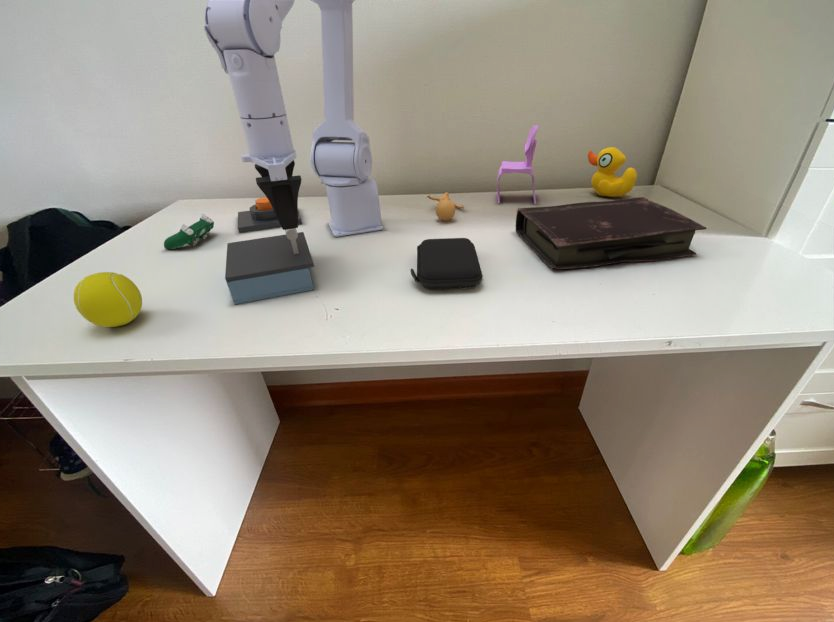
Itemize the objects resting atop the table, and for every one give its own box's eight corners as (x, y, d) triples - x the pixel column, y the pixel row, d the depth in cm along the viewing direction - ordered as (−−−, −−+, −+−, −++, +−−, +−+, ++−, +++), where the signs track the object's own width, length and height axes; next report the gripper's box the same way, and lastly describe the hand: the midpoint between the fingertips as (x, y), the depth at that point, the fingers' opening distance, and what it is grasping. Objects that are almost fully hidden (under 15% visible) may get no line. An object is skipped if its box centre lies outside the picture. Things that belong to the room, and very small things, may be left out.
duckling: (576, 194, 97) (584, 147, 91) (585, 188, 100) (594, 142, 94) (626, 203, 91) (638, 153, 85) (634, 196, 94) (647, 148, 88)
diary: (513, 231, 79) (516, 205, 76) (634, 219, 83) (641, 193, 80) (554, 275, 65) (559, 244, 62) (699, 258, 68) (710, 228, 65)
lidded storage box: (303, 256, 73) (299, 236, 71) (313, 290, 63) (308, 268, 61) (235, 267, 70) (228, 246, 68) (234, 304, 60) (226, 282, 58)
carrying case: (411, 253, 73) (410, 295, 61) (410, 236, 71) (409, 276, 59) (473, 250, 73) (483, 292, 61) (473, 233, 71) (484, 273, 59)
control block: (296, 209, 93) (293, 196, 91) (301, 224, 85) (298, 209, 83) (239, 217, 89) (235, 203, 88) (239, 233, 82) (234, 218, 80)
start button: (275, 204, 87) (273, 196, 86) (276, 209, 85) (274, 201, 84) (257, 207, 86) (254, 198, 85) (257, 212, 84) (255, 203, 83)
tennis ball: (86, 342, 53) (54, 293, 49) (97, 315, 58) (69, 269, 54) (148, 328, 55) (123, 281, 51) (153, 304, 60) (131, 259, 56)
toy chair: (496, 193, 98) (501, 122, 89) (534, 194, 97) (543, 122, 88) (495, 205, 92) (500, 129, 83) (536, 206, 91) (545, 129, 82)
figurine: (427, 200, 80) (433, 171, 88) (419, 226, 85) (425, 196, 92) (468, 213, 81) (470, 183, 89) (458, 238, 86) (461, 207, 94)
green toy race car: (178, 260, 77) (190, 240, 73) (159, 245, 75) (171, 224, 72) (209, 241, 84) (221, 221, 80) (193, 227, 83) (204, 207, 79)
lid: (304, 235, 71) (298, 209, 68) (314, 266, 61) (308, 237, 58) (228, 246, 67) (219, 219, 65) (226, 281, 58) (215, 251, 55)
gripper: (231, 111, 58) (258, 208, 66) (229, 126, 47) (261, 241, 56) (283, 107, 60) (303, 202, 68) (293, 121, 49) (315, 233, 57)
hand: (288, 219), depth 62 cm, fingers open, 7 cm apart
